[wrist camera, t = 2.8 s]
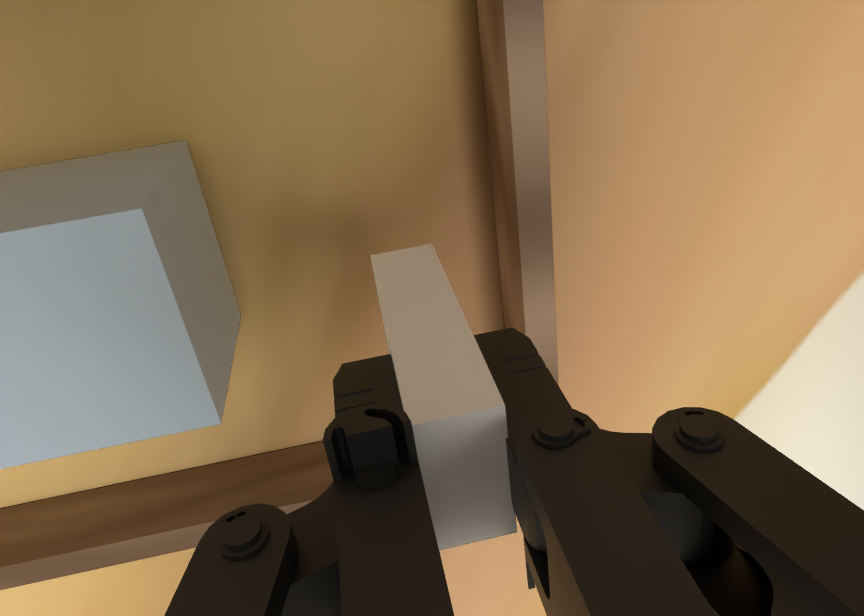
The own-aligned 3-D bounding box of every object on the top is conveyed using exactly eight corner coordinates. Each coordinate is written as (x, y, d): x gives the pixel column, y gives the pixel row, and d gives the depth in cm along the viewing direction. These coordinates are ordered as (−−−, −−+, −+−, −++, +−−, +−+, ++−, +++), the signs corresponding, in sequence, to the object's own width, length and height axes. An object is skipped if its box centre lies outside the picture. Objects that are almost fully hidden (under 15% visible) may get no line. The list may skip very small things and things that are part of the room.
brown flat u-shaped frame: (-401, -82, 15) (-550, -89, 12) (498, -201, 17) (533, -229, 14) (-1, 530, 25) (-38, 598, 22) (536, 416, 26) (561, 467, 24)
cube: (-25, 175, 19) (-152, 259, 14) (186, 139, 19) (141, 208, 14) (60, 348, 22) (-17, 472, 17) (241, 313, 22) (221, 423, 17)
